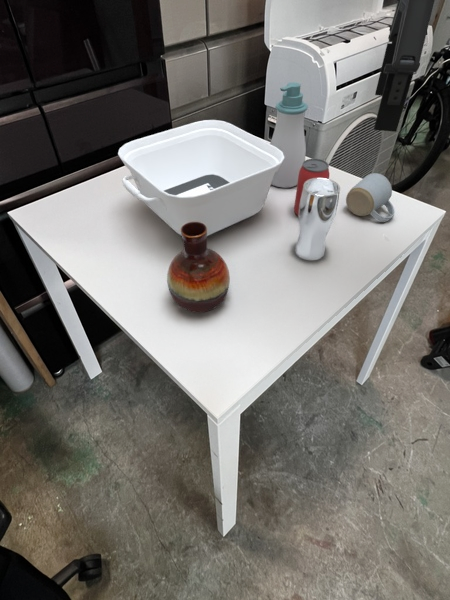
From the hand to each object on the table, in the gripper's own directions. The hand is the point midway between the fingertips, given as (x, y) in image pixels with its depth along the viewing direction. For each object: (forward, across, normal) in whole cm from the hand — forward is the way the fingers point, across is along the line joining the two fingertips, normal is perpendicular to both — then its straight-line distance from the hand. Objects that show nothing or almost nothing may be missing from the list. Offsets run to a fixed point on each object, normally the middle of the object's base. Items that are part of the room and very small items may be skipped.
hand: (384, 111), depth 52 cm
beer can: (+30, +19, +9) cm, 37 cm away
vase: (+30, -14, +25) cm, 41 cm away
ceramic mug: (+30, +23, -5) cm, 38 cm away
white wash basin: (+30, +13, +33) cm, 46 cm away
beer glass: (+30, +4, +7) cm, 31 cm away
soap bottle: (+30, +33, +17) cm, 48 cm away
